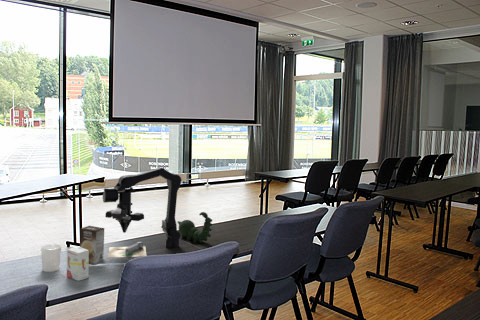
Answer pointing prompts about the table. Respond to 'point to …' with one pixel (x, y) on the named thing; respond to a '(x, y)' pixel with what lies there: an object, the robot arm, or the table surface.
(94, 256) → the coffee box
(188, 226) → the toy figurine
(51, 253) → the white cup
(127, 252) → the grey long bar
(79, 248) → the ink box
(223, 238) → the table surface
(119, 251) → the dial board
